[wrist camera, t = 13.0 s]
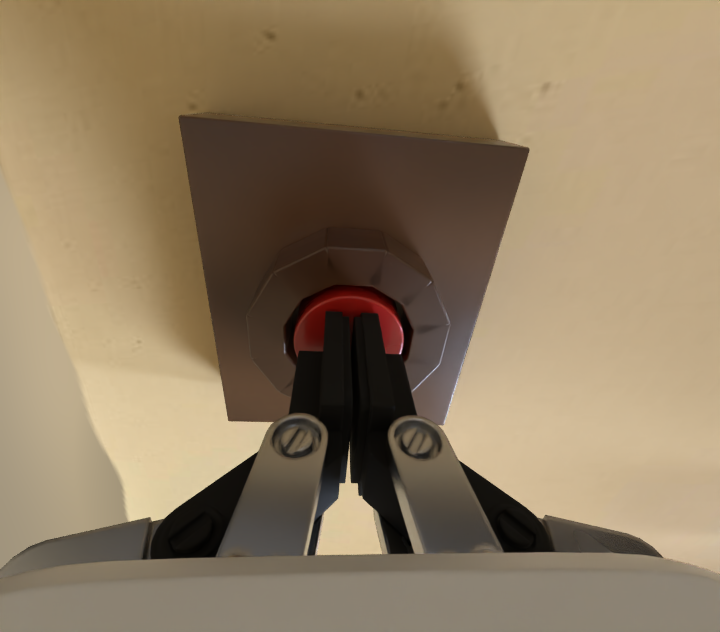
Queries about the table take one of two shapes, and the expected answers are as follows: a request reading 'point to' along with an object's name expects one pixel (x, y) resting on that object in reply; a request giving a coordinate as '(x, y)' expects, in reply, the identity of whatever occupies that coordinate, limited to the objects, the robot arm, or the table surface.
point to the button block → (343, 241)
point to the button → (351, 305)
